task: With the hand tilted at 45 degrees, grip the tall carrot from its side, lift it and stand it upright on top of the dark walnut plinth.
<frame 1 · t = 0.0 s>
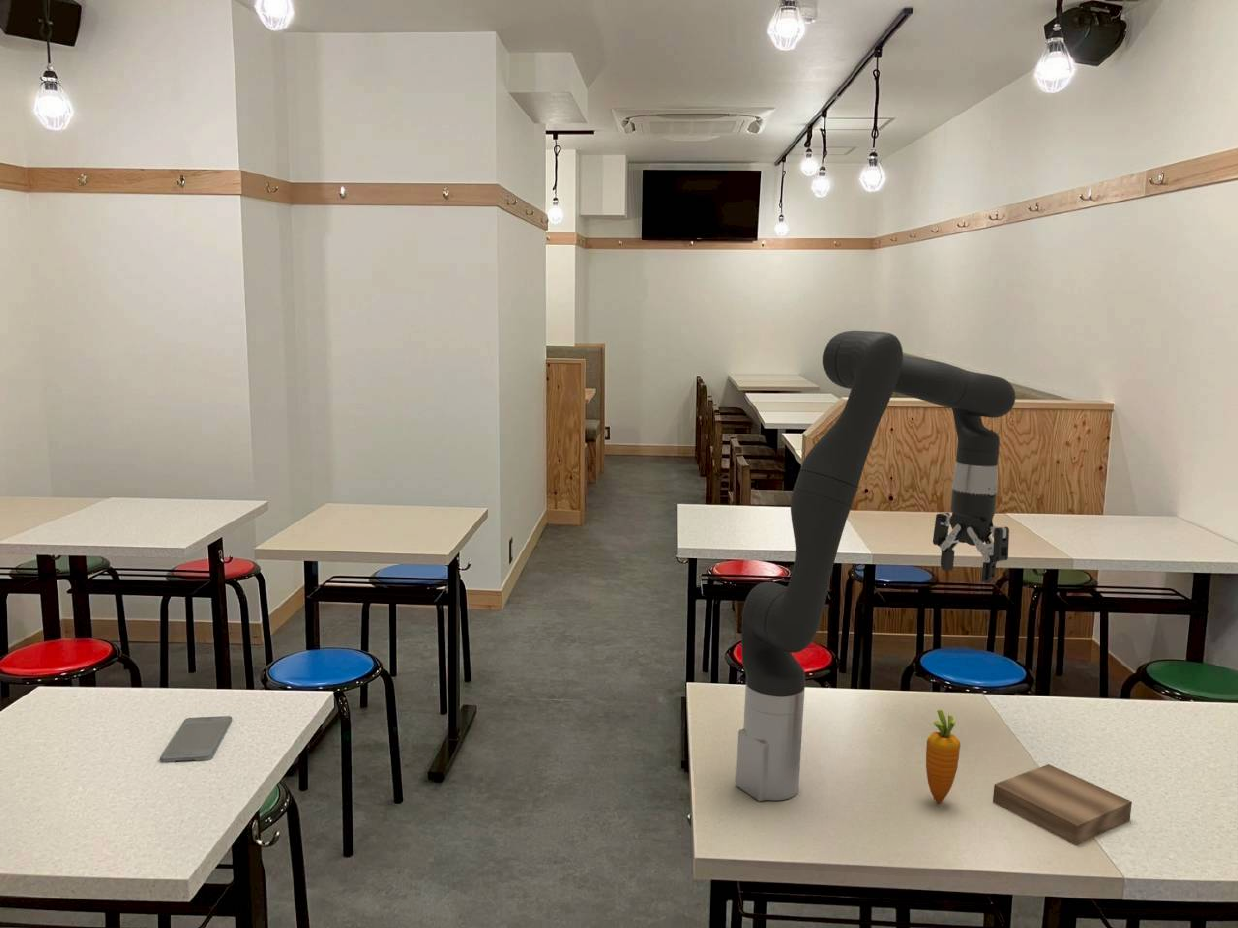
hand: (966, 576, 171), 29 cm above the table, tool pointing down, fingers open, 8 cm apart
walnut plinth: (1060, 810, 147), on the table
phone: (198, 744, 163), on the table
carrot: (938, 804, 148), on the table
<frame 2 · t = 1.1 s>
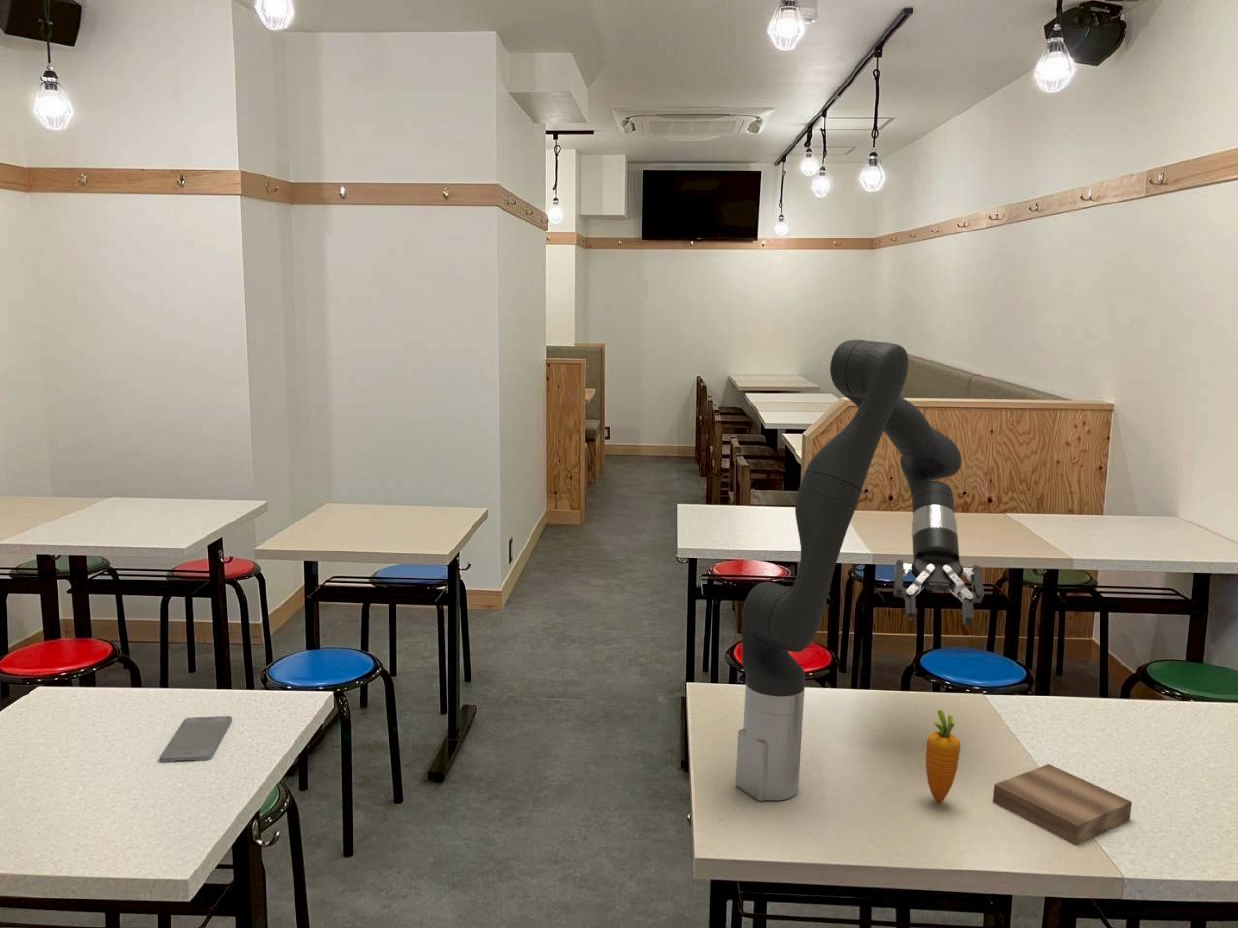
hand: (939, 620, 155), 26 cm above the table, tool tilted 45°, fingers open, 8 cm apart
nothing on the table moved.
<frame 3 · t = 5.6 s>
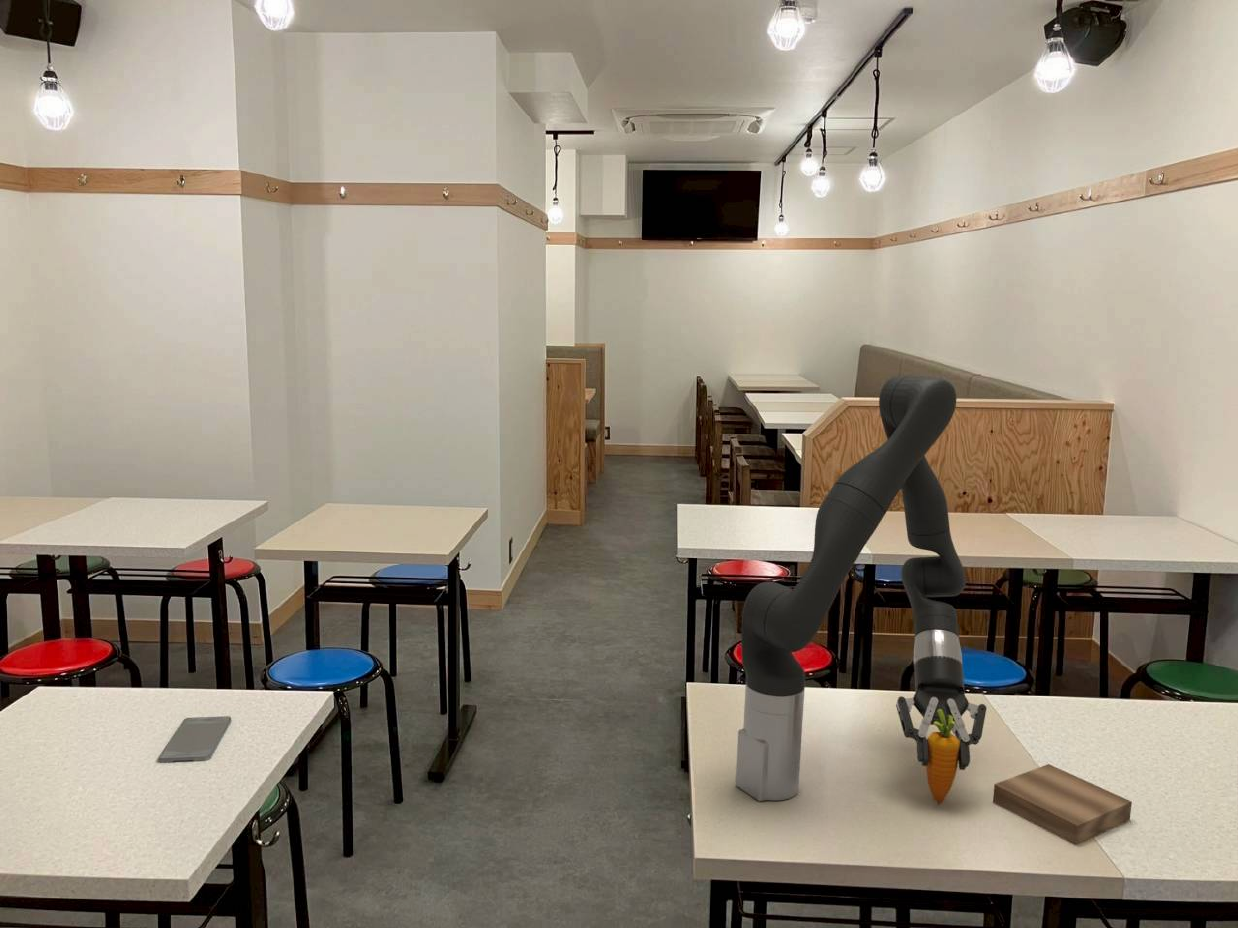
hand: (944, 765, 145), 7 cm above the table, tool tilted 45°, fingers closed on carrot, 5 cm apart
carrot: (938, 804, 148), on the table, touching gripper
everything else where it was.
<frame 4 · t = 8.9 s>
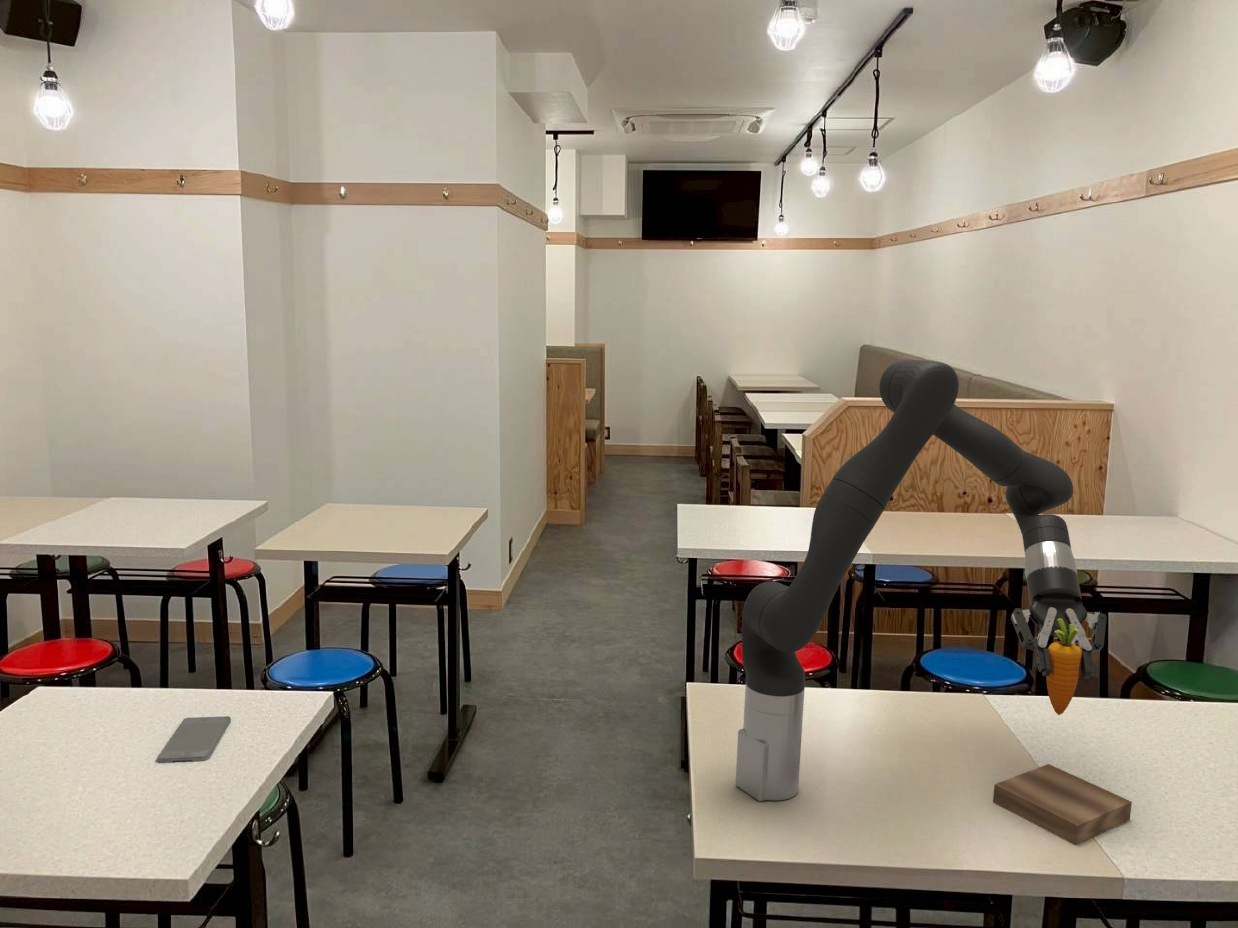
hand: (1066, 675, 142), 23 cm above the table, tool tilted 45°, fingers closed on carrot, 5 cm apart
carrot: (1058, 715, 145), point 15 cm above the table, touching gripper
everything else where it was.
when the fingers open (11 cm above the table, at t = 12.5 s): carrot drops 1 cm, resting on walnut plinth.
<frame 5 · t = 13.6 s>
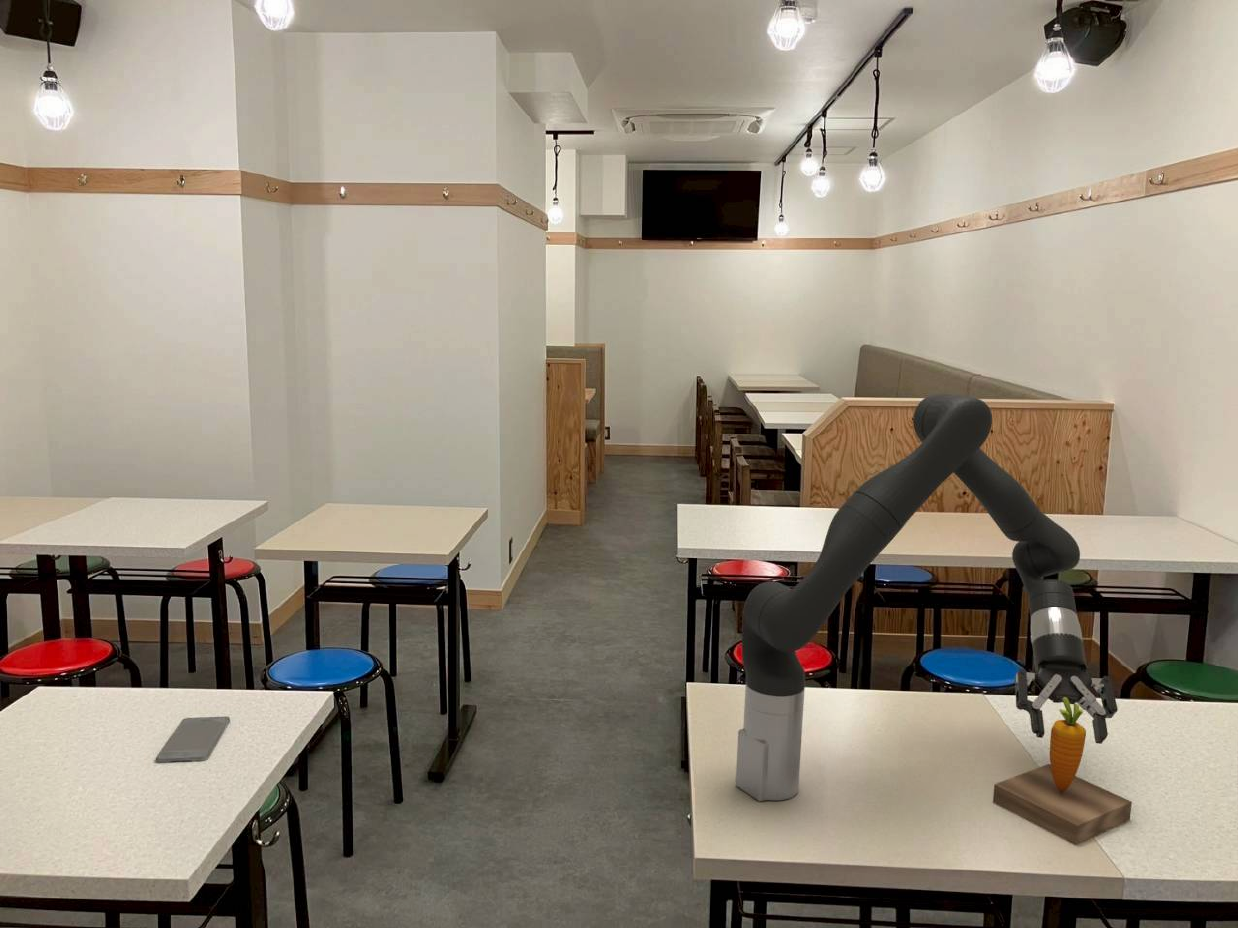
hand: (1070, 738, 144), 12 cm above the table, tool tilted 45°, fingers open, 8 cm apart
carrot: (1061, 793, 147), point 3 cm above the table, touching walnut plinth
everything else where it was.
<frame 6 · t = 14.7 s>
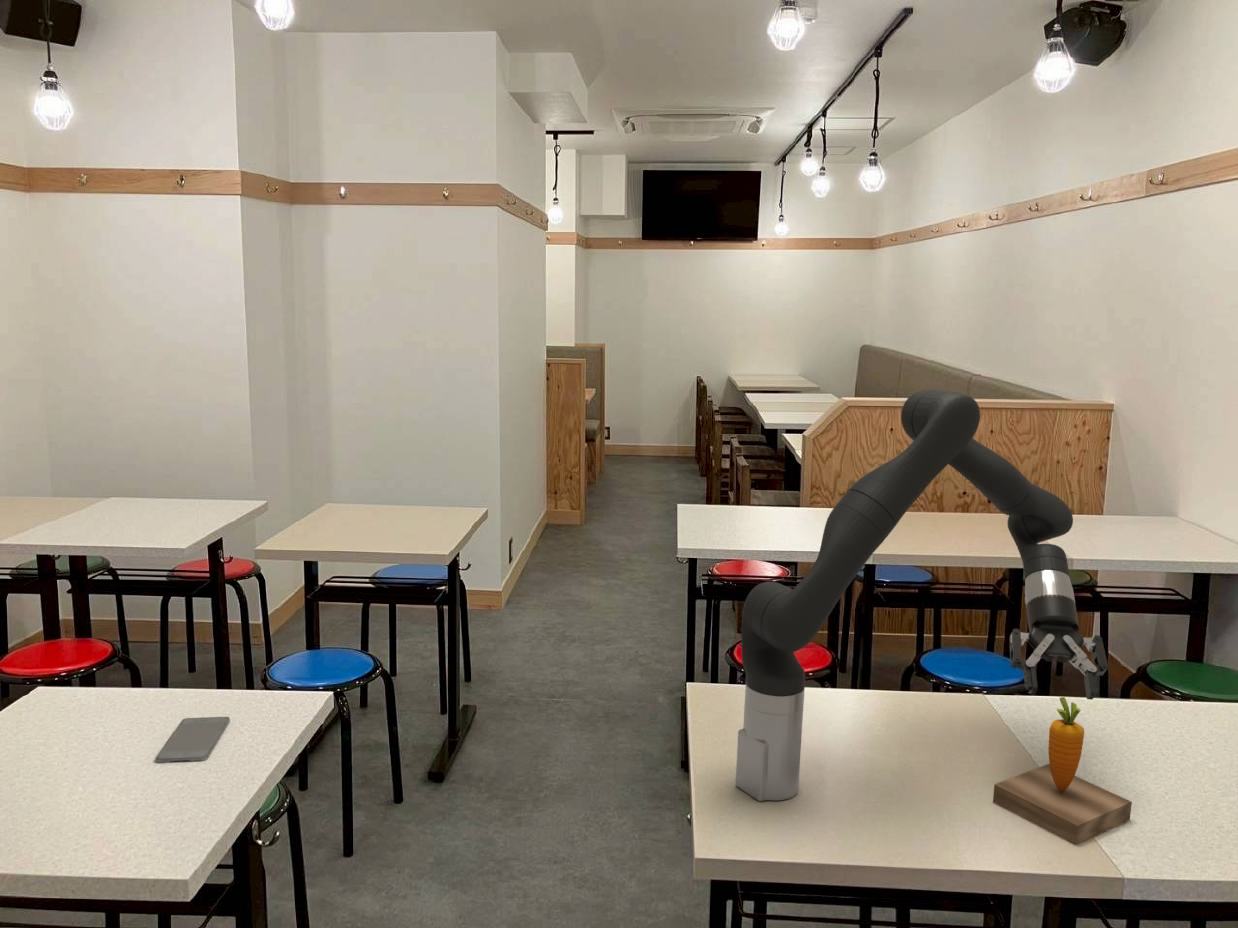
hand: (1062, 694, 149), 17 cm above the table, tool tilted 45°, fingers open, 8 cm apart
nothing on the table moved.
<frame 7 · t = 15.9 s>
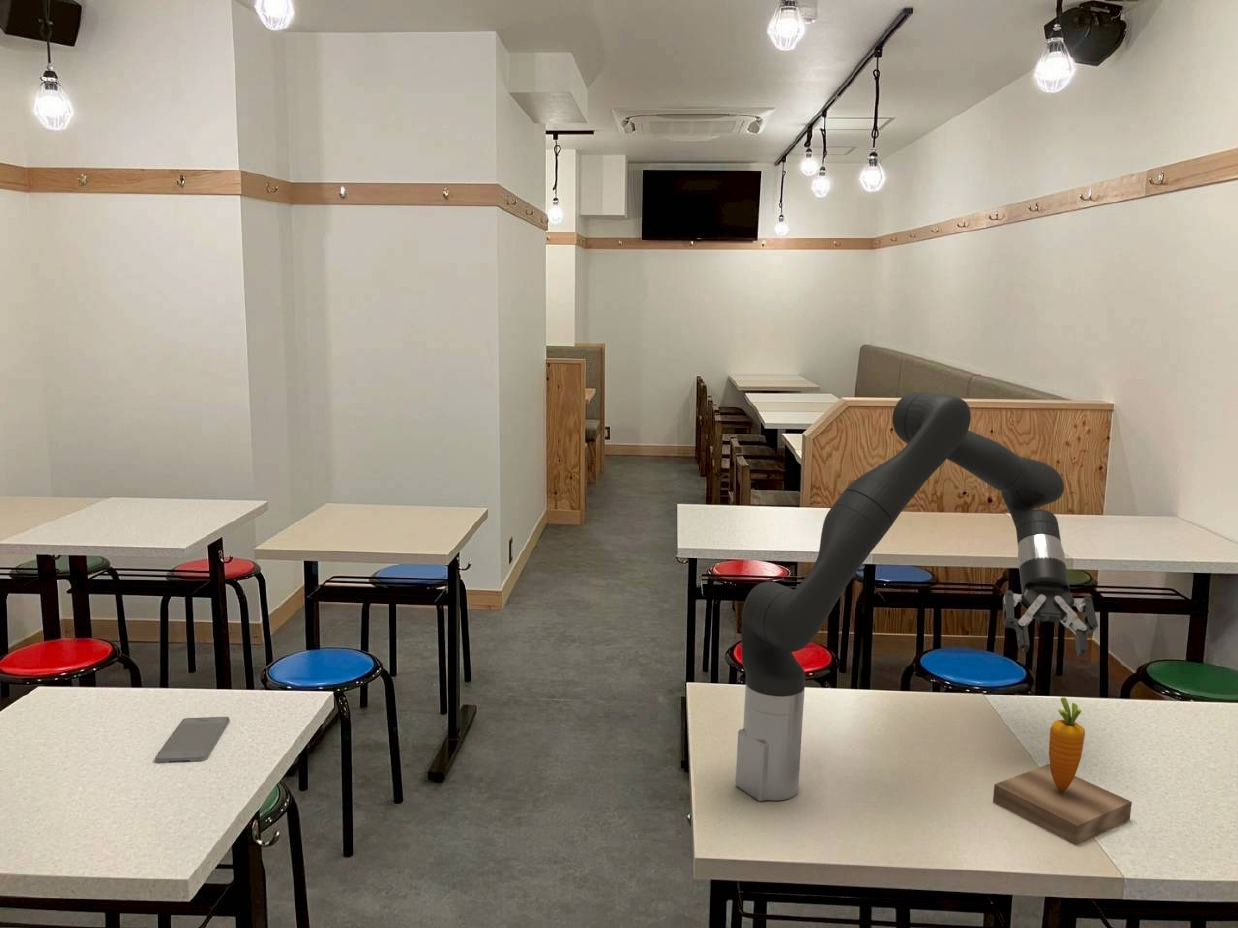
hand: (1053, 652, 155), 22 cm above the table, tool tilted 45°, fingers open, 8 cm apart
nothing on the table moved.
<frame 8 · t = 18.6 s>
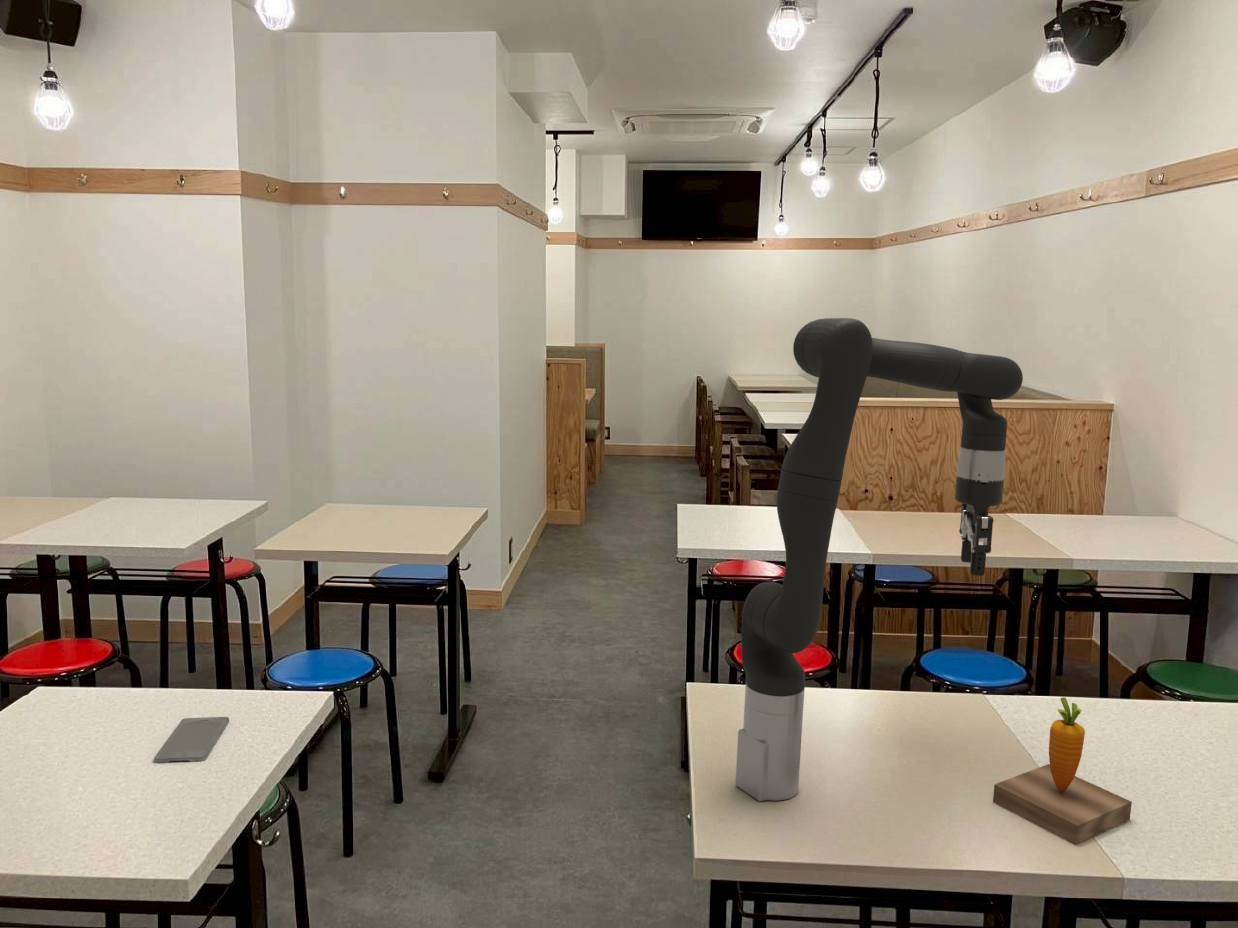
hand: (972, 568, 162), 33 cm above the table, tool pointing down, fingers open, 8 cm apart
nothing on the table moved.
at the end: carrot inside the target area on the walnut plinth (0.2 cm from its centre), point 2.8 cm above the walnut plinth's base; carrot tilted 0°; the gripper is holding nothing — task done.
